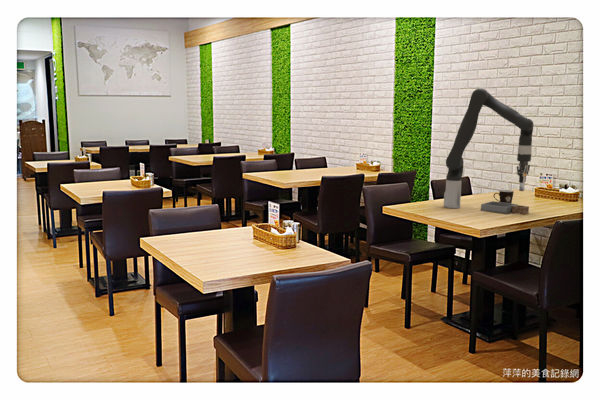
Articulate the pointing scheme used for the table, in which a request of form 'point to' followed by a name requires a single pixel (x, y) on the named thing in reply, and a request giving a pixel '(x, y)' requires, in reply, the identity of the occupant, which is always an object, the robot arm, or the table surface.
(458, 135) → the robot arm
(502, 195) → the coffee mug
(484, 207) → the tray
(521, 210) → the pin block
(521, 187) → the stop pin
